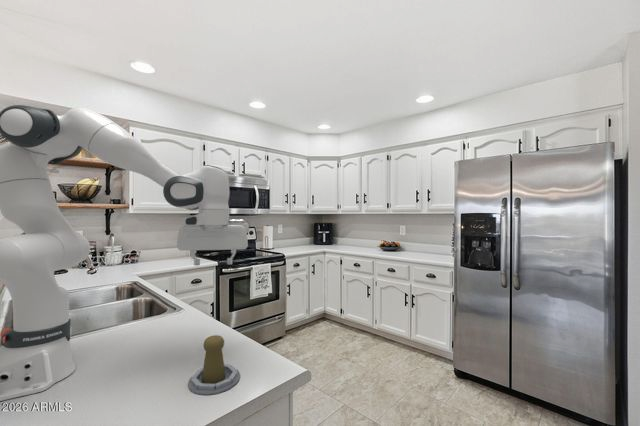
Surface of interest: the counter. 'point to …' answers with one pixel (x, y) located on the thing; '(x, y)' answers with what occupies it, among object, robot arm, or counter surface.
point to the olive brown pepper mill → (213, 360)
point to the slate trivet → (210, 389)
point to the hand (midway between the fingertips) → (213, 264)
